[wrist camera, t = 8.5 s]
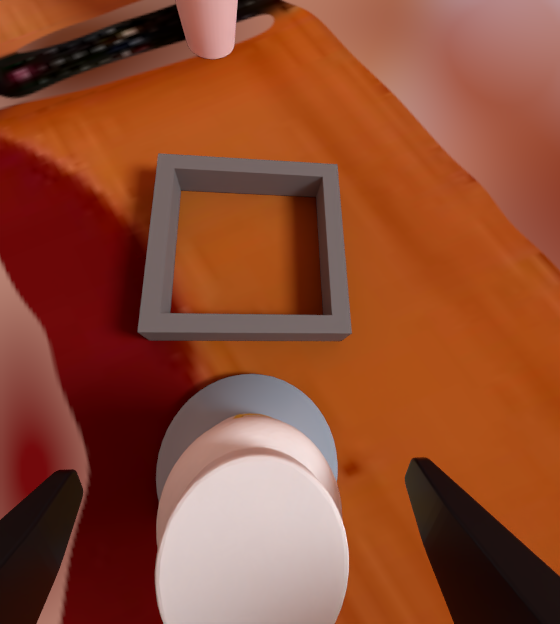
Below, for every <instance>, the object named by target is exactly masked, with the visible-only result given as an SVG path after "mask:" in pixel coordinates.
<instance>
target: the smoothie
mask: <svg viewBox="0 0 560 624" xmlns="http://www.w3.org/2000/svg"><path fill="white" fill-rule="evenodd" d="M175 2H176V5H177V9H178V13H179V16H180V20H181V24H182V27H183V31H184V34H185V38H186V42H187V44H188V47H189V49H190V50H191V51H192V52H193V53H195V54H196V55H198V56H200V57H203V58H207V59H218V58H222V57H225V56H227V55H228V54H229V53H231V51H232V50H233V48H234V42H235V27H236V15H237V2H238V0H175Z"/></svg>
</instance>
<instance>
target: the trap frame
mask: <svg viewBox="0 0 560 624" xmlns="http://www.w3.org/2000/svg"><path fill="white" fill-rule="evenodd" d="M181 190H184V191H204V192H224V193H244V194H264V195H284V196H304V197H316V205H317V222H318V239H319V255H320V272H321V289H322V306H323V315H268V314H183V313H170V309H171V298H172V286H173V275H174V263H175V252H176V241H177V229H178V218H179V206H180V195H181ZM138 333H139V334H141V335H142V336H144V337H145V338H147V339H148V340H186V341H342V340H343V339H345V338H346V337H347V336H349V335H350V334H352V331H351V319H350V308H349V296H348V284H347V272H346V261H345V249H344V237H343V226H342V214H341V202H340V190H339V179H338V167H337V164H322V163H306V162H290V161H273V160H257V159H240V158H224V157H207V156H191V155H175V154H158V161H157V170H156V178H155V187H154V195H153V204H152V212H151V221H150V230H149V238H148V247H147V255H146V264H145V272H144V281H143V289H142V298H141V306H140V315H139V324H138Z"/></svg>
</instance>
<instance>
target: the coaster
mask: <svg viewBox="0 0 560 624" xmlns="http://www.w3.org/2000/svg"><path fill="white" fill-rule="evenodd" d="M244 413H257V414H263V415H266V416H269V417H272V418H275V419H277V420H280V421H282V422H284V423H287V424H289V425H291V426H293V427H295V428H296V429H298V430H299V431H300V432H302V433H303V434H304V435H305V436H307V437H308V438H309V439H310V440H311V441H312V442H313V443H314V444H315V445H316V447H317V448H318V449H319V450H320V452H321V453H322V454H323V456H324V458H325V459H326V461H327V463H328V464H329V466H330V468H331V470H332V472H333V475H334V477H335V480H336V483H337V455H336V448H335V444H334V440H333V437H332V434H331V431H330V428H329V426H328V424H327V422H326V420H325V418H324V417H323V415H322V414H321V412H320V411H319V409H318V408H317V406H316V405H315V404H314V403H313V402H312V401H311V399H309V398H308V397H307V396H306V395H305V394H304V393H303V392H302V391H300V390H299V389H297V388H296V387H294V386H293V385H291V384H289V383H287V382H285V381H283V380H280V379H277V378H275V377H271V376H266V375H259V374H242V375H236V376H231V377H227V378H224V379H221V380H219V381H216V382H214V383H212V384H210V385H208V386H207V387H205V388H204V389H202V390H200V391H199V392H198V393H196V394H195V395H194V396H193V397H192V398H190V399H189V400H188V401H187V402H186V404H185V405H184V406H183V407H182V408H181V409H180V410H179V412H178V413H177V414H176V416H175V417H174V419H173V420H172V422H171V424H170V426H169V427H168V429H167V431H166V434H165V436H164V439H163V441H162V444H161V448H160V451H159V455H158V461H157V469H156V486H157V496H158V500H159V501H160V498H161V494H162V491H163V488H164V485H165V483H166V480H167V478H168V476H169V474H170V472H171V470H172V469H173V467H174V465H175V463H176V462H177V461H178V459H179V458H180V456H181V455H182V454H183V453H184V451H185V450H186V449H187V448H188V447H189V446H190V445H191V444H192V443H193V442H194V441H195V440H196V439H197V438H198V437H200V436H201V435H202V434H203V433H205V432H206V431H208V430H209V429H211V428H212V427H214V426H215V425H217V424H219V423H220V422H222V421H224V420H225V419H227V418H230V417H232V416H235V415H238V414H244Z"/></svg>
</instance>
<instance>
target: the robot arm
mask: <svg viewBox="0 0 560 624" xmlns="http://www.w3.org/2000/svg"><path fill="white" fill-rule="evenodd" d="M405 484H406V488H407V491H408V494H409V498H410V501H411V505H412V508H413V512H414V515H415V518H416V522H417V525H418V529H419V532H420V535H421V539H422V542H423V545H424V548H425V550H426V553H427V556H428V558H429V561H430V563H431V566H432V568H433V571H434V573H435V576H436V578H437V581H438V584H439V586H440V589H441V591H442V594H443V596H444V599H445V601H446V604H447V606H448V609H449V612H450V614H451V617H452V619H453V622H454V624H560V576H559V575H558V574H556V573H555V572H554V571H553V570H552V569H551V568H550V567H549V566H548V565H546V564H545V563H544V562H543V561H542V560H541V559H540V558H539V557H537V556H536V555H535V554H534V553H533V552H532V551H531V550H530V549H529V548H527V547H526V546H525V545H524V544H523V543H522V542H521V541H520V540H519V539H517V538H516V537H515V536H514V535H513V534H512V533H511V532H510V531H509V530H507V529H506V528H505V527H504V526H503V525H502V524H501V523H500V522H499V521H497V520H496V519H495V518H494V517H493V516H492V515H491V514H490V513H489V512H487V511H486V510H485V509H484V508H483V507H482V506H481V505H480V504H479V503H477V502H476V501H475V500H474V499H473V498H472V497H471V496H470V495H469V494H467V493H466V492H465V491H464V490H463V489H462V488H461V487H460V486H459V485H457V484H456V483H455V482H454V481H453V480H452V479H451V478H450V477H449V476H447V475H446V474H445V473H444V472H443V471H442V470H441V469H440V468H439V467H437V466H436V465H435V464H434V463H433V462H432V461H431V460H429V459H428V458H425V457H421V458H413V459H412V460H411V462H410V464H409V467H408V470H407V472H406V475H405ZM82 496H83V488H82V485H81V483H80V480H79V477H78V475H77V472H76V471H75V470H58V471H56V472H54V473H53V474H52V475H51V476H50V477H48V478H47V479H46V480H45V481H44V482H43V483H42V484H40V485H39V486H38V487H37V488H36V489H35V490H34V491H33V492H32V493H30V494H29V495H28V496H27V497H26V498H25V499H23V500H22V501H21V502H20V503H19V504H18V505H17V506H16V507H14V508H13V509H12V510H11V511H10V512H9V513H8V514H6V515H5V516H4V517H3V518H2V519H1V520H0V624H36V623H37V620H38V618H39V616H40V614H41V611H42V609H43V606H44V604H45V602H46V599H47V597H48V595H49V592H50V590H51V588H52V585H53V583H54V581H55V578H56V576H57V573H58V571H59V568H60V565H61V562H62V560H63V556H64V553H65V551H66V547H67V544H68V541H69V538H70V535H71V532H72V529H73V525H74V522H75V519H76V516H77V513H78V510H79V507H80V503H81V500H82Z"/></svg>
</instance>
